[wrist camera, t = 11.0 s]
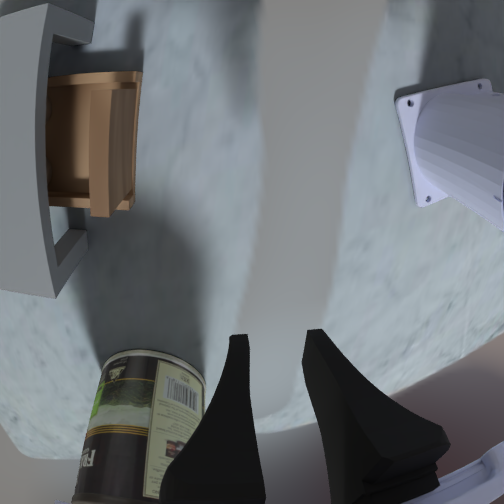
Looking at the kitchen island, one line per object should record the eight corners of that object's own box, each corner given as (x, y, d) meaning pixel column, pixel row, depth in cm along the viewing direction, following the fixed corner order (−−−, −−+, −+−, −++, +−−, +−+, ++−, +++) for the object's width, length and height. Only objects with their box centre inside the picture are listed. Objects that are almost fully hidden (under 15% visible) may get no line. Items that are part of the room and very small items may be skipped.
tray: (144, 72, 15) (116, 67, 11) (136, 199, 19) (112, 236, 14) (20, 82, 14) (-29, 89, 9) (22, 195, 18) (-19, 226, 13)
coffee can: (99, 397, 28) (76, 515, 16) (106, 334, 24) (63, 490, 11) (191, 420, 31) (191, 537, 18) (221, 365, 26) (230, 520, 14)
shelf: (94, 22, 13) (48, 2, 8) (88, 248, 20) (55, 298, 15) (-4, 42, 12) (-59, 41, 6) (3, 240, 19) (-37, 281, 13)
